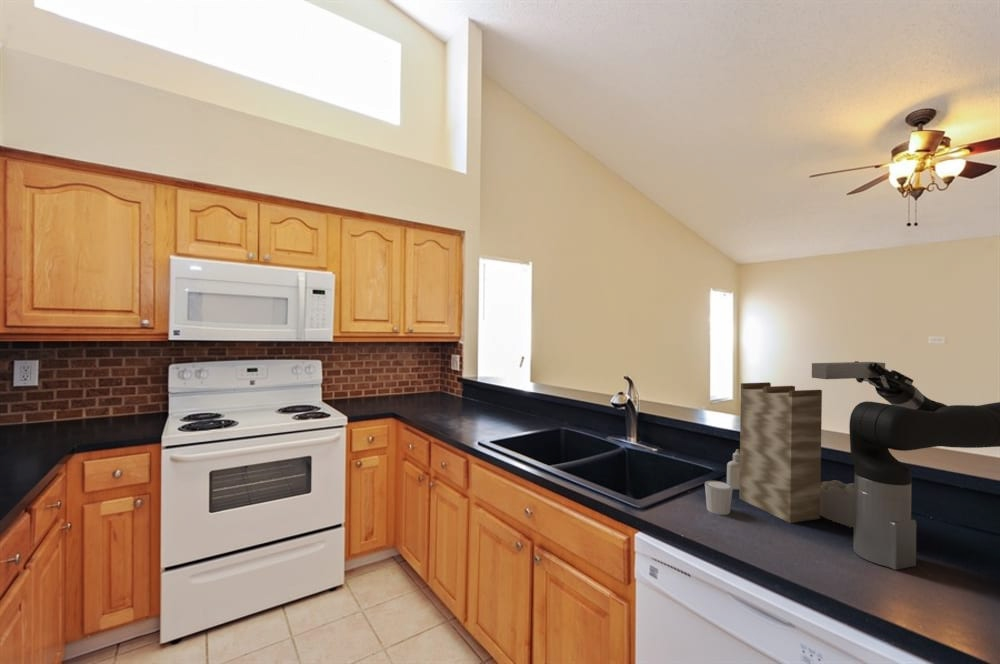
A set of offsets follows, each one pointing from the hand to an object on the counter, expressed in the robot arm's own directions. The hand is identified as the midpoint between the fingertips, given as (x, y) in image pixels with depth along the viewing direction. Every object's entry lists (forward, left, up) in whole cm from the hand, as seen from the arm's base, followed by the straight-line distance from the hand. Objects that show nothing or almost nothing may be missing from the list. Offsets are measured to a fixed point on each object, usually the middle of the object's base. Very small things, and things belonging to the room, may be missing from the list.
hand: (863, 364), depth 122 cm
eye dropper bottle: (+19, +25, -40) cm, 50 cm away
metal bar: (0, +6, -3) cm, 7 cm away
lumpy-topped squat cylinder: (-5, +14, -40) cm, 42 cm away
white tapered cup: (+7, +43, -40) cm, 59 cm away
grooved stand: (+4, +26, -39) cm, 47 cm away
